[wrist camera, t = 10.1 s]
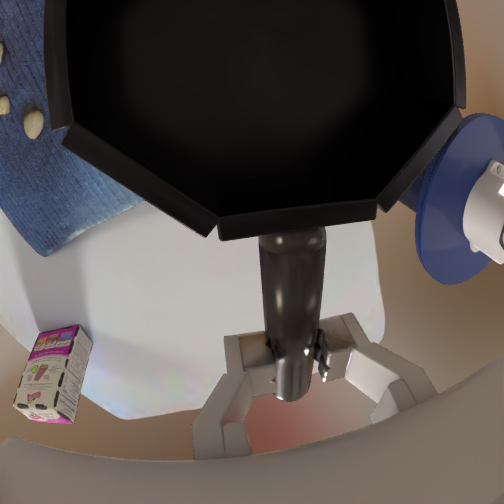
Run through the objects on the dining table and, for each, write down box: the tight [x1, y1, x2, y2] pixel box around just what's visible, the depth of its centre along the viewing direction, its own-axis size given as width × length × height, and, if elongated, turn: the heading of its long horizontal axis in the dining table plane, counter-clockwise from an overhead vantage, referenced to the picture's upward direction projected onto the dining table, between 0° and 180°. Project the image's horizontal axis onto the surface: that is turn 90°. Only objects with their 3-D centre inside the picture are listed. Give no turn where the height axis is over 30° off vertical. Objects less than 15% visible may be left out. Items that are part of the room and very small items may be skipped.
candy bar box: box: [13, 325, 93, 424], centre depth 32 cm, size 11×5×16 cm, turn 103°
